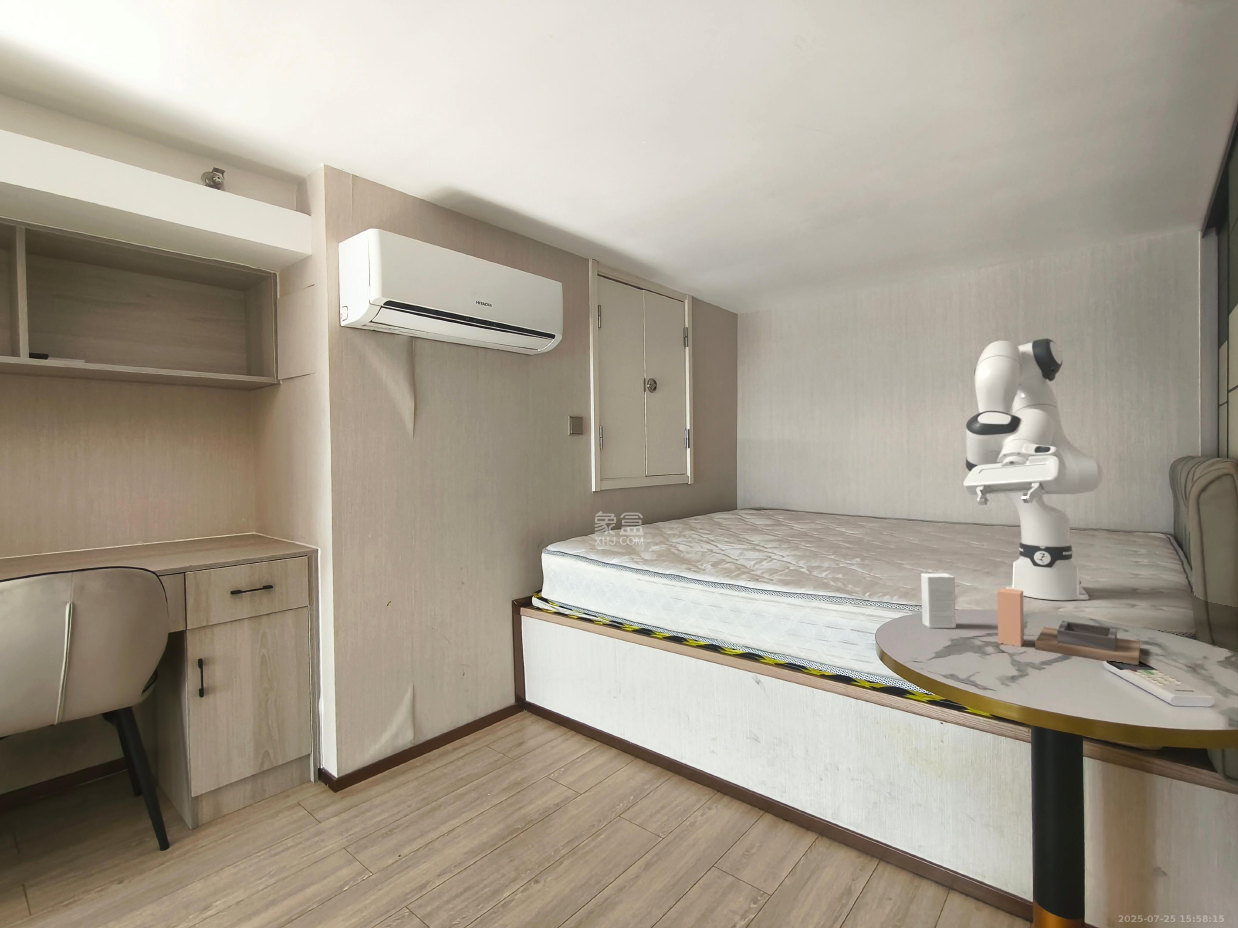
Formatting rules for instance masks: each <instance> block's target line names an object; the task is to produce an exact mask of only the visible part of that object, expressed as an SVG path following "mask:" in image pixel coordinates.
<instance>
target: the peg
mask: <svg viewBox="0 0 1238 928" xmlns="http://www.w3.org/2000/svg"><path fill="white" fill-rule="evenodd" d="M1024 618H1025V616H1024V596H1023V590H1014V589H1006V587H1001V588H1000V589H999V590H997V643H998V644H1001V643H1003V644H1002V645H1007V646H1013V645H1014V647H1015V646H1016V647H1018V648H1019V647H1020V648H1021V647H1022V645H1023V644H1024V642H1025V641H1024V640H1025V635H1024V634H1025V632H1024V629H1025V628H1024V627H1025V626H1024V625H1025V622H1024Z"/></svg>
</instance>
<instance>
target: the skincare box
mask: <svg viewBox="0 0 1238 928" xmlns="http://www.w3.org/2000/svg"><path fill="white" fill-rule="evenodd" d="M920 576H921V577H920V578H921V579H920V581H921V583H920V584H921V585H920V587H921V609H922V610H921V612H922V615H921V616H922V625H925V626H926V627H927V628H929V629H955V628H957V626H956V625H957V624H956V622H957V620H956V619H957V618H956V582H955V580H956V579H955V578H956V577H955V576H953V575H951V574H950V573H946V572H944V573H939V572H938V573H932V572H931V573H921V574H920Z"/></svg>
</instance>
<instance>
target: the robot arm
mask: <svg viewBox="0 0 1238 928" xmlns="http://www.w3.org/2000/svg"><path fill="white" fill-rule="evenodd" d="M1062 366H1063V353H1062V350H1061V348H1060V347H1059V346H1058V344H1056V342H1055V341H1054V340H1053V339H1050V338H1040V339H1036V340H1034V339H1033V341H1032V342H1028V343H1024V344H1021V345H1017V344H1016V343H1014V342H1012V341H1008V340H996V341H993V342H991V343H989V344H988V345H987V346H986V347H985V348H984V349H983V351H982V352H981V354H980V356H979V359H978V361H977V364H976V366H975V369H974V370H973V371H974V372H973V375H974V388H975V397H976V401H977V402H976V403H977V407H978V413H976V414H974V415H973V416H971V417H970V418H969V419H968V420H967V422H966V424H965V429H966V430H965V434H966V435H965V436H966V439H965V440H966V441H965V444H966V445H965V447H966V448H965V449H966V450H965V451H966V457H965V467H966V470H967V471H969V473H968V475H967V476H966V477H965V479H964V481H963V487H964V489H965V491H966V492H967V493H968V494H969V495H970V496H977V500H976V502H977V503H978V505H979V506H986V505H988V502H989V499H988V497H987V495H995V494H996V495H997V494H1003V495H1005V497H1007V498H1008V499H1009V500H1010V502H1012V504H1013V505H1014V507H1015V509H1016V510H1017V513H1018V516H1019V522H1020V523H1019V524H1020V538H1021V539H1020V542H1019V547H1018V550H1019V558H1018V559H1016V560H1015V561H1013V564H1012V565H1013V567H1012V583H1011V584H1009V585H1006V586H1005V588H1006V589H1014V590H1023V597H1029V598H1034V599H1042V600H1052V601H1053V600H1054V601H1073V600H1076V601H1077V600H1080V601H1081V600H1085V601H1086V600H1089V599H1090V598H1089V595H1088V594H1087V592H1086V591H1085V589H1084V588H1083V587H1082V586H1081V584H1082V581H1081V580H1080V579H1079V574H1080V573H1079V567H1078V566H1077V565H1076V564H1075V563H1073V560H1072V559H1073V553H1074V551H1073V546H1072V545H1071V538H1070V537H1071V536H1070V535H1071V531H1070V529H1071V527H1070V526H1071V524H1070V522H1071V521H1070V517H1069V516H1068V515H1067V513H1065V512H1064V511H1063V510H1060V509H1058V508H1056V507H1054V506H1052V505H1049V504H1047V503H1046V502H1045V501H1044V495H1077V494H1084V493H1085V494H1086V493H1091V492H1094V491H1096V490H1097V489H1098V488H1099V487H1100V486H1101V484H1102V481H1103V479H1104V470H1103V467H1102V466H1101V463H1100V462H1099V460H1098V459H1096V458H1095V457H1093V456H1091V455H1089V454H1087V453H1085V452H1083V451H1082V450H1080V449H1078V447H1076V446H1075V445H1074V444H1073V443H1072V442H1071V441H1070V440H1069V439H1068V437H1067V436H1066V434H1065V432H1064V428H1063V426H1062V421H1061V416H1060V411H1059V406H1058V402H1057V398H1056V396H1055V393H1054V391H1053V388H1052V387H1051V385H1050V384H1049V382H1053V381H1054V380H1055V379H1056V375H1057V374H1058V373H1059V372H1060V370H1061V367H1062ZM1011 410H1012V413H1011Z"/></svg>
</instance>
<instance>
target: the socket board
mask: <svg viewBox="0 0 1238 928" xmlns="http://www.w3.org/2000/svg"><path fill="white" fill-rule="evenodd" d="M1034 649H1035V650H1039V651H1045V652H1050V653H1056V654H1062V655H1066V656H1067V655H1068V656H1074V657H1080V658H1085V659H1086V658H1088V659H1092V660H1097V661H1103V662H1104V661H1105V662H1109V661H1116V662H1123V663H1132V664H1137V665H1138V664H1139V663H1140V662H1139V661H1140V650H1141V640H1134V639H1127V638H1121V637H1118V628H1117V627H1112V626H1104V625H1098V624H1097V625H1096V624H1089V623H1081V622H1074V621H1069V620H1068V621H1067V620H1066V621H1065V620H1062V621H1061V622H1060V624H1059V627H1058V628H1052V627H1043V628H1042V630H1041V631H1040V633H1039V635H1038V636H1037V638H1036V640H1035V641H1034ZM1106 660H1108V661H1106ZM1138 666H1139V665H1138Z"/></svg>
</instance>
